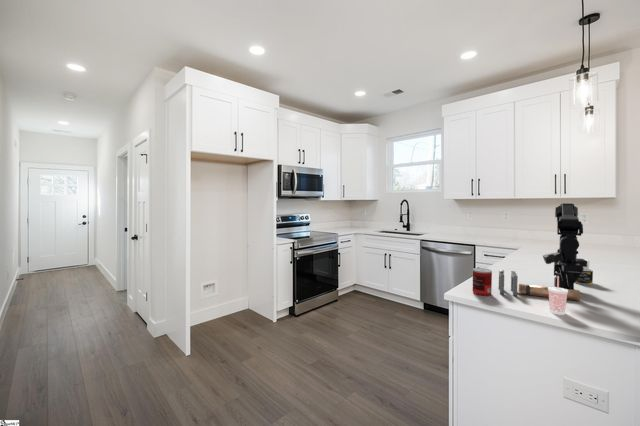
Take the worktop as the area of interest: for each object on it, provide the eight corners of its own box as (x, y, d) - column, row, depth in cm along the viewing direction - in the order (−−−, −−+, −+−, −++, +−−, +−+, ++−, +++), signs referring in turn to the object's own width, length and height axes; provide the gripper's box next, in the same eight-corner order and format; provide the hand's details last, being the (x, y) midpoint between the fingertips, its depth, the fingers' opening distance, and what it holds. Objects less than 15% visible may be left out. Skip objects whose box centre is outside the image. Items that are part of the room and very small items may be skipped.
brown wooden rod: (577, 298, 127) (577, 288, 127) (580, 302, 123) (580, 292, 123) (518, 291, 137) (518, 282, 137) (519, 295, 133) (520, 285, 133)
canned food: (489, 291, 139) (489, 268, 138) (493, 297, 131) (493, 272, 131) (471, 290, 141) (471, 267, 141) (473, 295, 134) (474, 271, 133)
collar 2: (514, 290, 140) (515, 271, 140) (517, 296, 131) (517, 276, 131) (510, 289, 141) (511, 271, 141) (513, 295, 132) (513, 276, 132)
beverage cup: (543, 309, 116) (544, 274, 115) (559, 309, 116) (560, 274, 115) (554, 315, 110) (556, 278, 109) (571, 315, 110) (573, 278, 109)
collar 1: (502, 288, 142) (503, 268, 142) (504, 294, 134) (505, 272, 133) (497, 288, 143) (498, 267, 143) (499, 294, 135) (499, 272, 134)
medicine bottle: (574, 283, 150) (575, 260, 150) (569, 279, 157) (569, 257, 156) (592, 284, 148) (593, 261, 147) (586, 281, 154) (587, 258, 154)
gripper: (540, 243, 138) (539, 276, 139) (549, 249, 122) (548, 287, 123) (571, 245, 133) (570, 279, 134) (584, 251, 117) (583, 291, 117)
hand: (566, 283), depth 127 cm, fingers open, 9 cm apart
